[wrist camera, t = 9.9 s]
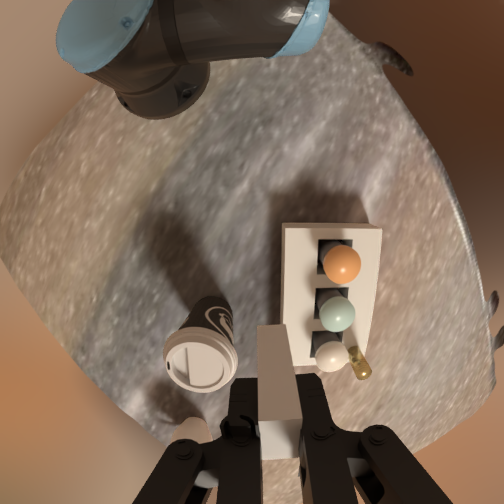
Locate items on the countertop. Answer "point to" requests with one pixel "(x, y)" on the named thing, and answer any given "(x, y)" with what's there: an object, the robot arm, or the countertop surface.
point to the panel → (325, 283)
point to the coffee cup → (203, 348)
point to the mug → (193, 431)
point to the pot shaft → (359, 363)
